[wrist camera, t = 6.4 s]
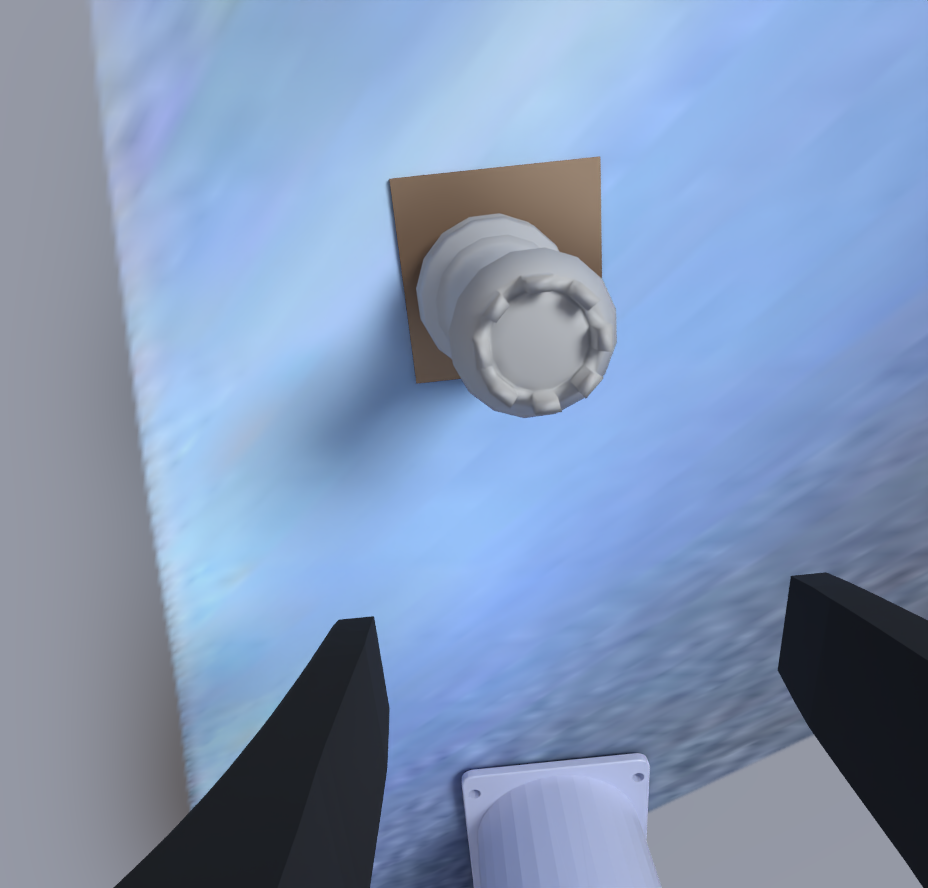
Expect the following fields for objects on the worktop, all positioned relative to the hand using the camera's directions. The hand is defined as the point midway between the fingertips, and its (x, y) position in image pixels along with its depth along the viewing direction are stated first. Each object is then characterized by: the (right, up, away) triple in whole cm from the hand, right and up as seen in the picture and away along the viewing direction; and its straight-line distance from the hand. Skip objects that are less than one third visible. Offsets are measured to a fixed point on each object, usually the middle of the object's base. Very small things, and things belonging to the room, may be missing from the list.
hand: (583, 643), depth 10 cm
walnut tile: (-1, +9, +8) cm, 12 cm away
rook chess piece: (-1, +8, +8) cm, 11 cm away
